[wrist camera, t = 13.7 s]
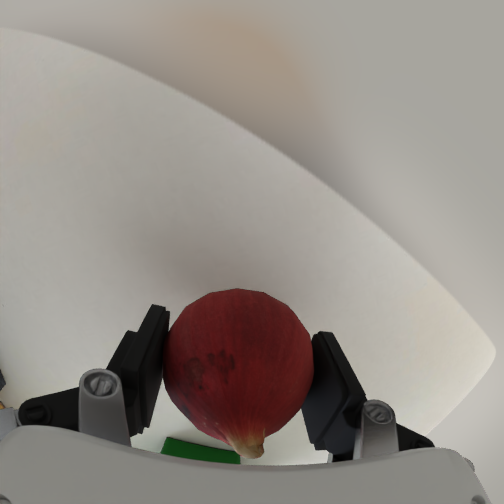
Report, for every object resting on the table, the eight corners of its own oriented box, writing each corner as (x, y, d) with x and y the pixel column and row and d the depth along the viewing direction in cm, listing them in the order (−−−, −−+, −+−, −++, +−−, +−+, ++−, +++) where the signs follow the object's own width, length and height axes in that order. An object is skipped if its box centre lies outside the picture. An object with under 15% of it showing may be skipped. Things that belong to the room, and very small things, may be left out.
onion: (177, 352, 14) (148, 478, 7) (182, 253, 13) (122, 370, 5) (280, 363, 15) (309, 487, 7) (305, 270, 13) (379, 388, 6)
